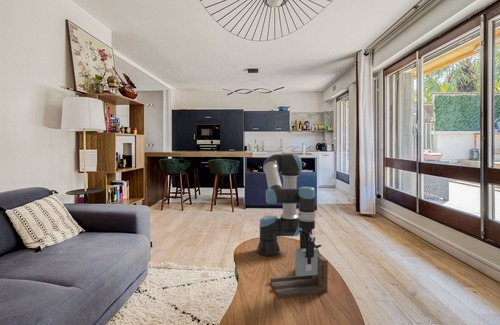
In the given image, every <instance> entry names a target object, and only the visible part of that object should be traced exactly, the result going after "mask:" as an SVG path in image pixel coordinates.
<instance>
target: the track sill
mask: <svg viewBox="0 0 500 325" xmlns="http://www.w3.org/2000/svg"><path fill="white" fill-rule="evenodd" d="M319 253H320V252H319ZM319 253H318V275H310V276H299V277H298V276H297V275H288V276H279V277H270V280H269V283H270V285H271V287H272V288H273V290H274V292H275V294H276V295H277V297H278V298H288V297H295V296H304V295H313V294H320V293H321V294H322V293H328V275H329V274H328V270H329V269H328V266H329V264H328V262H329V261H328V259H326V258H325V257H324V256H323V255H321V254H319Z"/></svg>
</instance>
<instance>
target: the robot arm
mask: <svg viewBox="0 0 500 325" xmlns="http://www.w3.org/2000/svg"><path fill="white" fill-rule="evenodd" d="M263 162H264V163H263V166H262V169H263V172H264V174H265V177H266V183H267V187H268V188H267V189H266V190H265V201H266V203H267V204H268V205H269V204H270V205H271V204H272V205H282V213H281V214H280V218H278V216H276V215H265V216H263V217H261V218H260V219H259V241H258V245H257V248H256V253H257V254H258V255H260V256H264V257H275V256H278V255H279V254H280V253H281V248H280V244H279V242H278V237H297V236H299V247H300V248H299V249H302V248H306V256H305V270H306V271H311V257H314V244H315V242H316V237H315V236H313V230H314V229H315V228H316V221H315V220H316V191H315V188H314V187H311V186H300V187H297V179H298V177H299V175H300V173H302V172H303V164H302V159H301V157H300V155H299V154H296V153H295V154H294V153H282V154H281V153H280V154H278V153H275V154H272V155H270V156H268V157H267V158H266V159H265V160H264V161H263ZM279 173H280V174H279ZM280 175H281V177H282V179H283V180H282V181H281V177H280ZM282 182H283V183H282ZM297 205H298V213H297Z"/></svg>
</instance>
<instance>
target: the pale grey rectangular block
mask: <svg viewBox="0 0 500 325" xmlns="http://www.w3.org/2000/svg"><path fill="white" fill-rule="evenodd" d="M294 250H295V253H294V254H295V256H294V257H295V258H294V259H295V260H294V261H295V262H294V264H295V266H294V268H295V269H294V270H295V272H294V274H295V276H298V277H299V276H310V275H318V250H319V249H318V250H317V249H316V248H314V257H311V271H306V270H305V256H306V248H302V249H300V248H295V249H294Z"/></svg>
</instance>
